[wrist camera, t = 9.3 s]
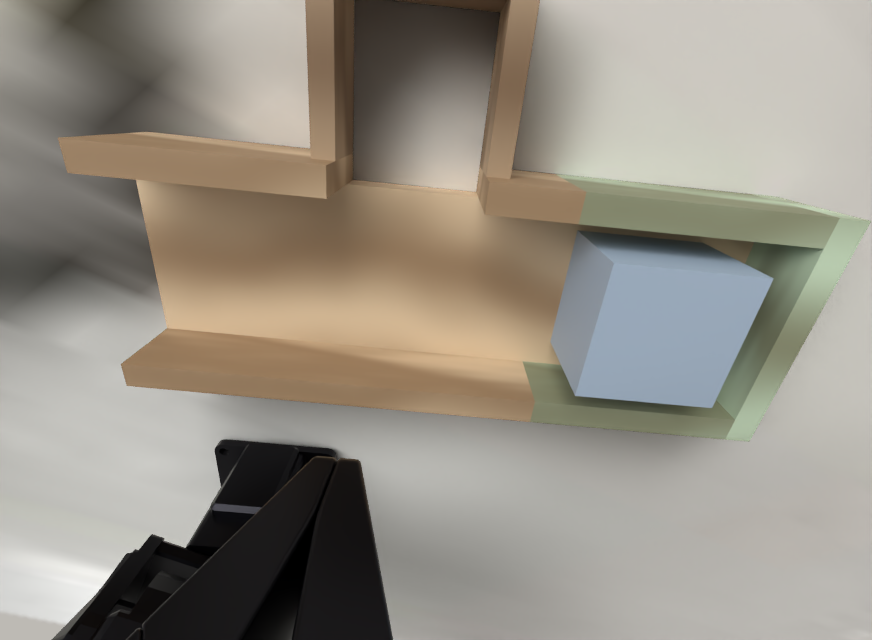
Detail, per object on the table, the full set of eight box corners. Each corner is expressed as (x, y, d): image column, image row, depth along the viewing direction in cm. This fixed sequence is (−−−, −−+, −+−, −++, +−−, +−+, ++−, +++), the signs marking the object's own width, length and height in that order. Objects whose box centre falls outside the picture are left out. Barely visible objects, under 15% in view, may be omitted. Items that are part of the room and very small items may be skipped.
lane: (694, 382, 21) (749, 441, 17) (186, 335, 20) (126, 385, 17) (853, 23, 14) (998, -9, 11) (110, -62, 14) (-17, -127, 10)
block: (661, 351, 19) (712, 408, 15) (550, 341, 19) (574, 395, 15) (702, 242, 17) (773, 278, 13) (577, 230, 16) (614, 263, 13)
